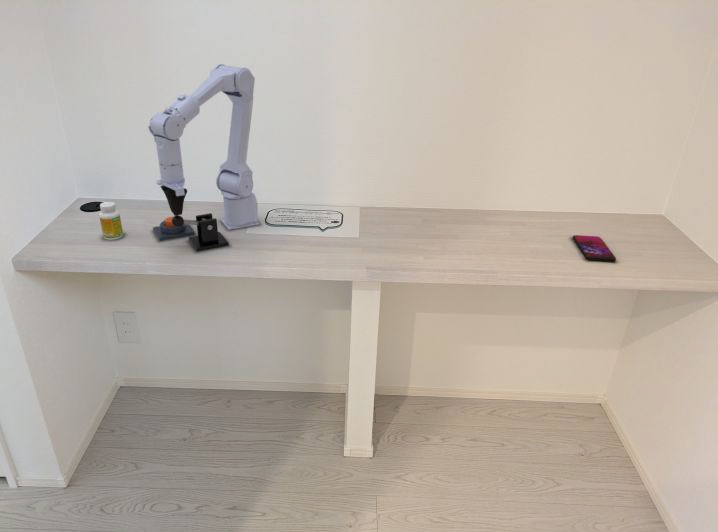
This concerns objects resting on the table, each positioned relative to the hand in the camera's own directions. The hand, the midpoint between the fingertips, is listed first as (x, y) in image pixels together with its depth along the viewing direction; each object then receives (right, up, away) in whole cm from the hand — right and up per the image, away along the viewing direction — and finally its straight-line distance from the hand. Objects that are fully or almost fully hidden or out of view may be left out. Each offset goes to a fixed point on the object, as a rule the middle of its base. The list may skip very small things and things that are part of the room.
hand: (176, 213), depth 152 cm
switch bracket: (+7, -7, +8) cm, 13 cm away
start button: (-4, -1, +13) cm, 14 cm away
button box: (-4, -4, +14) cm, 15 cm away
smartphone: (+114, -9, +8) cm, 114 cm away
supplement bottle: (-21, -5, +12) cm, 25 cm away
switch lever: (+3, -3, +4) cm, 6 cm away
